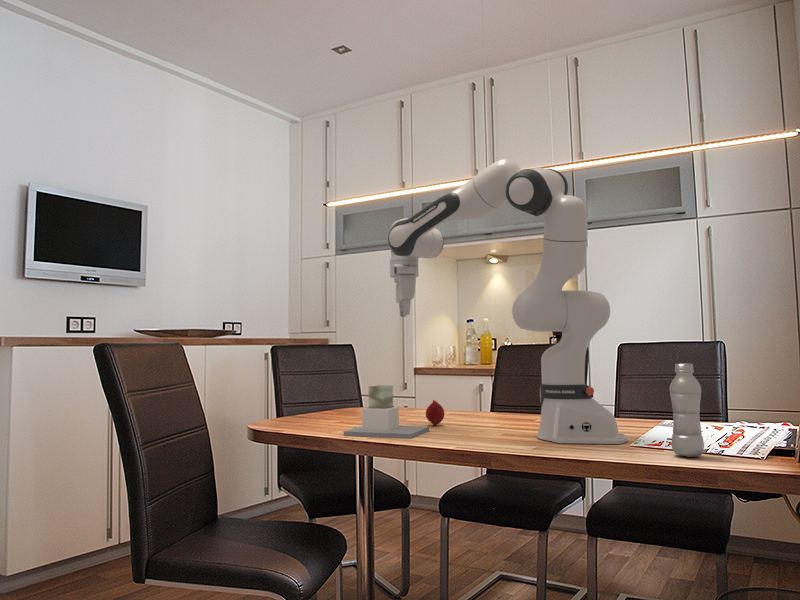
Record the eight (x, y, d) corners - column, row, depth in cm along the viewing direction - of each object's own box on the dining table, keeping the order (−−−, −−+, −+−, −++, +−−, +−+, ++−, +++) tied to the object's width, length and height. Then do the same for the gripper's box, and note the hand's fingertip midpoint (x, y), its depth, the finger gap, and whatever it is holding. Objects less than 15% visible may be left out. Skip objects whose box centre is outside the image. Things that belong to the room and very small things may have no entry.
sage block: (392, 406, 179) (392, 385, 179) (382, 408, 175) (382, 386, 175) (378, 405, 182) (378, 385, 182) (368, 407, 178) (368, 386, 178)
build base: (429, 430, 181) (428, 405, 182) (410, 438, 166) (410, 410, 167) (366, 428, 188) (366, 403, 189) (343, 435, 173) (343, 408, 174)
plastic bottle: (694, 453, 138) (690, 363, 139) (711, 459, 131) (706, 364, 132) (666, 454, 137) (662, 363, 139) (681, 459, 131) (676, 364, 132)
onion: (444, 424, 195) (444, 398, 196) (444, 426, 190) (443, 400, 190) (426, 424, 196) (426, 399, 197) (425, 426, 190) (425, 400, 191)
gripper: (391, 275, 202) (391, 317, 201) (397, 267, 182) (397, 314, 181) (410, 275, 203) (410, 317, 202) (418, 267, 183) (419, 314, 182)
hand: (404, 315), depth 191 cm, fingers open, 8 cm apart
